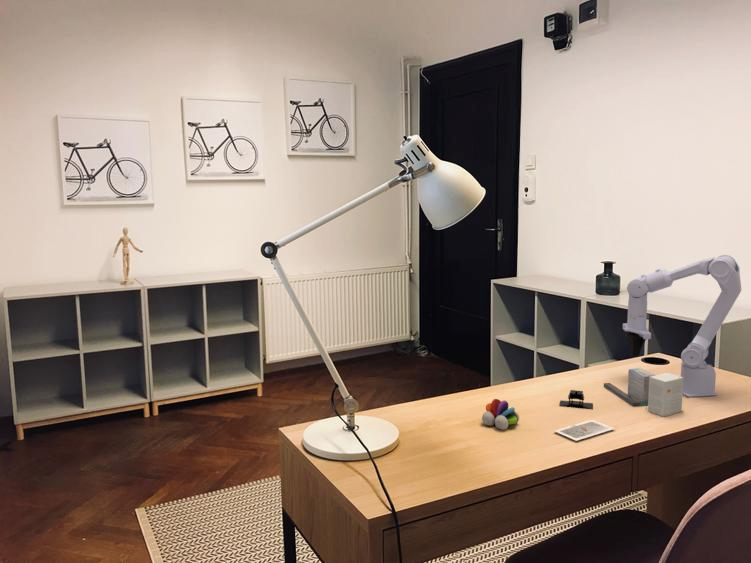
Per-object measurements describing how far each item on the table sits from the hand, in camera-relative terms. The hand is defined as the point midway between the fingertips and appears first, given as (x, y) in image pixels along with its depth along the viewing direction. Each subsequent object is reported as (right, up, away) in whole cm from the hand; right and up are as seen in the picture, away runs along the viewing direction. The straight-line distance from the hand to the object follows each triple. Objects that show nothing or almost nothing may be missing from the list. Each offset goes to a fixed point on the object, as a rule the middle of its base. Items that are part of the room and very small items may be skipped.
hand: (635, 355), depth 212 cm
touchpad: (-29, -17, -38) cm, 51 cm away
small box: (-1, -14, -24) cm, 28 cm away
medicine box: (-4, -12, -14) cm, 18 cm away
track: (-4, -11, -11) cm, 16 cm away
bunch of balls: (-50, -16, -32) cm, 62 cm away
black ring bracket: (-25, -14, -18) cm, 33 cm away
